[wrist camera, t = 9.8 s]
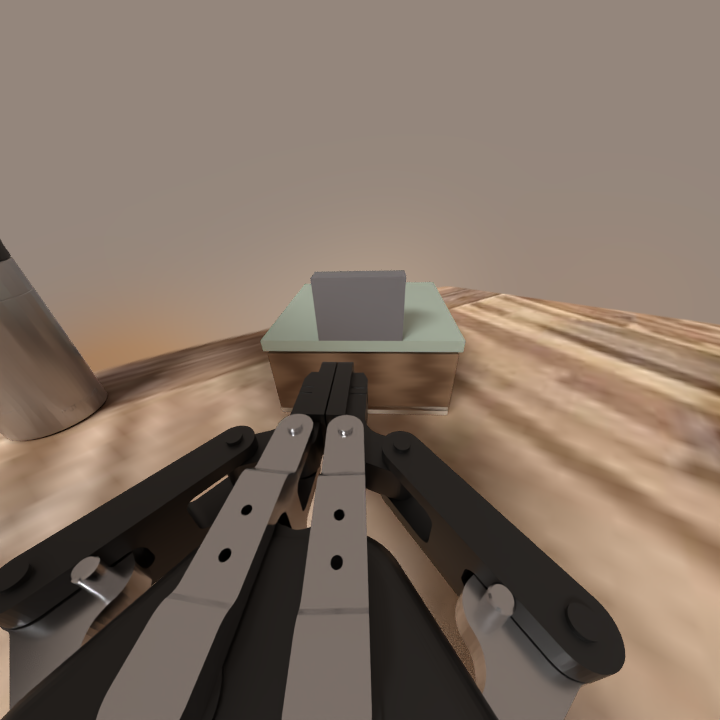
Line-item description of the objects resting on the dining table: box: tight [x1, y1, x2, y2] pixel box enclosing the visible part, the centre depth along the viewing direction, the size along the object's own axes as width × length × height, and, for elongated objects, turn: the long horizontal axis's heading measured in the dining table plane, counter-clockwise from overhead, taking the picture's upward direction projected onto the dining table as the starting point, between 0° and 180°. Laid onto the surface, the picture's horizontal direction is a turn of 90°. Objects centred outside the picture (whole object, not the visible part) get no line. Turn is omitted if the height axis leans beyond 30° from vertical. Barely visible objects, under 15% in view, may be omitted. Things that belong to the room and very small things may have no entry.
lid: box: [260, 270, 465, 352], centre depth 32 cm, size 20×18×7 cm
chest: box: [268, 351, 459, 415], centre depth 36 cm, size 19×18×8 cm
